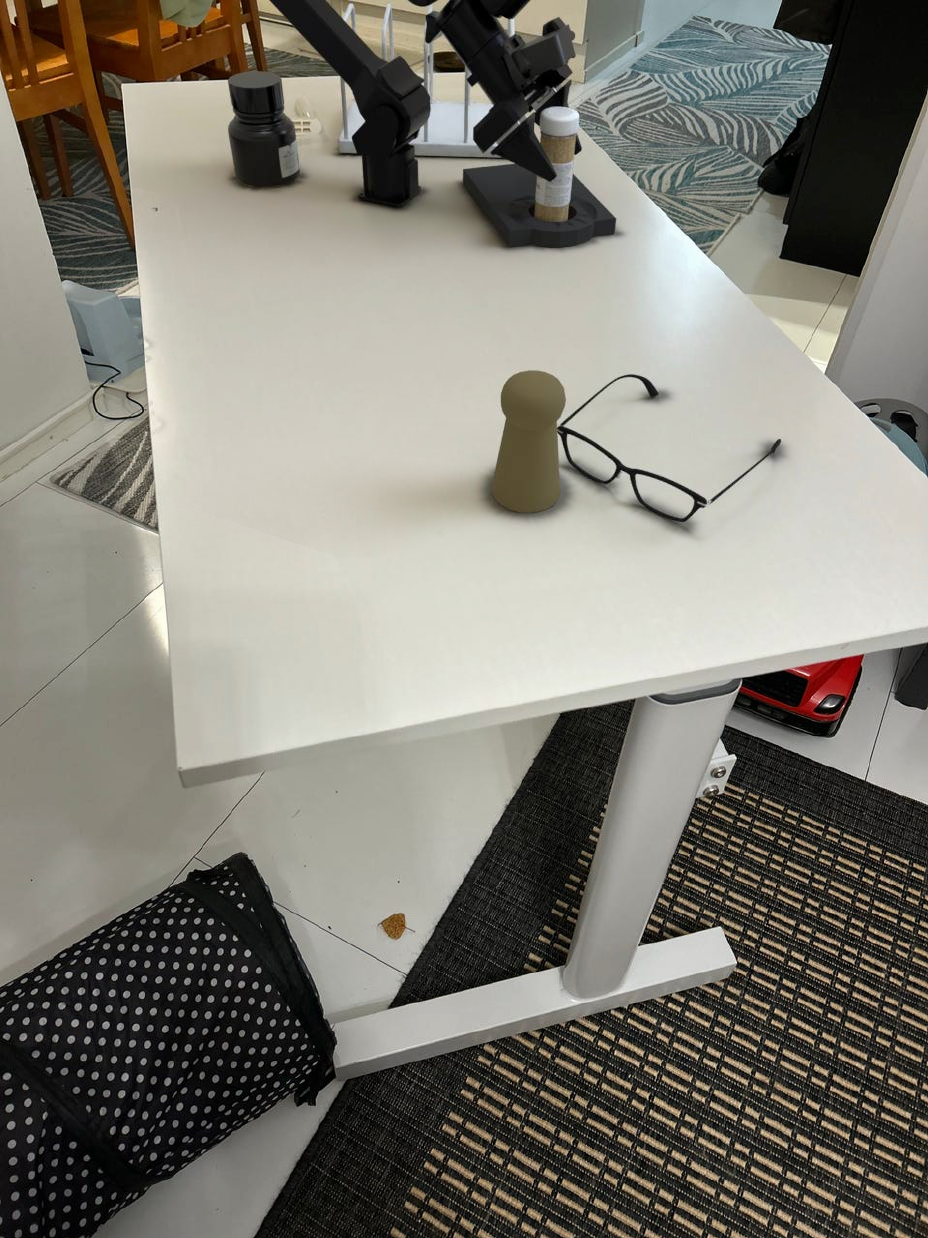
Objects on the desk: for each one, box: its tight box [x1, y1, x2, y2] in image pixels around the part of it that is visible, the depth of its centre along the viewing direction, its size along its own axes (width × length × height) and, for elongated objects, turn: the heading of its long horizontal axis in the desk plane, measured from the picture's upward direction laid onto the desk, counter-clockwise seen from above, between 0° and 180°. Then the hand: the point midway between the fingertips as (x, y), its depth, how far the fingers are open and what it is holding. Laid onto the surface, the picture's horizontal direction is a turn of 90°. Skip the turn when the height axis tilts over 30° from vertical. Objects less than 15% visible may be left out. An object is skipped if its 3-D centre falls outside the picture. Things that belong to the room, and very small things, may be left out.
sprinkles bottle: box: [534, 107, 580, 222], centre depth 110 cm, size 5×5×14 cm
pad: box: [462, 163, 617, 248], centre depth 117 cm, size 22×14×2 cm, turn 17°
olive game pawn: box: [491, 369, 567, 514], centre depth 75 cm, size 6×6×11 cm
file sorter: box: [338, 3, 516, 158], centre depth 130 cm, size 25×17×16 cm
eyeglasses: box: [557, 373, 782, 523], centre depth 81 cm, size 16×16×4 cm
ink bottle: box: [227, 70, 301, 188], centre depth 120 cm, size 10×9×12 cm
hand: (566, 165), depth 109 cm, fingers open, 9 cm apart
